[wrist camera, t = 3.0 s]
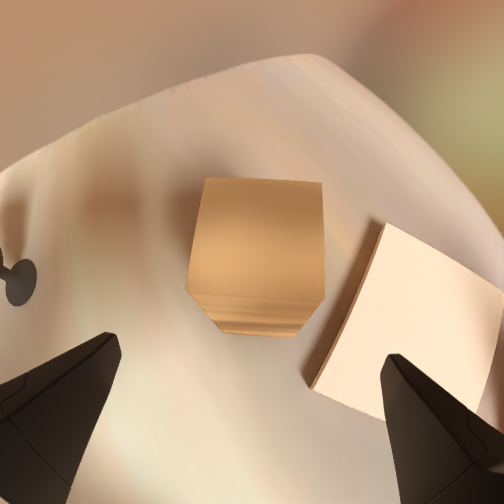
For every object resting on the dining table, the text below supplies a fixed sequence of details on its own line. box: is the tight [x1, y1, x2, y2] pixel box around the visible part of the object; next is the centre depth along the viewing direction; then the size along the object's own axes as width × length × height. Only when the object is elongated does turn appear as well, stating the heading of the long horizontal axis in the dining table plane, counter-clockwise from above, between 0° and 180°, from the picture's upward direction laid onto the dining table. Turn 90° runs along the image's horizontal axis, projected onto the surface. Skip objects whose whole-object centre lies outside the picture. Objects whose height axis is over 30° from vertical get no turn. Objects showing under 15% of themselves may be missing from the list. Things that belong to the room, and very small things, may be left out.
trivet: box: [310, 223, 504, 422], centre depth 19 cm, size 14×14×2 cm
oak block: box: [185, 177, 325, 338], centre depth 16 cm, size 5×5×11 cm
